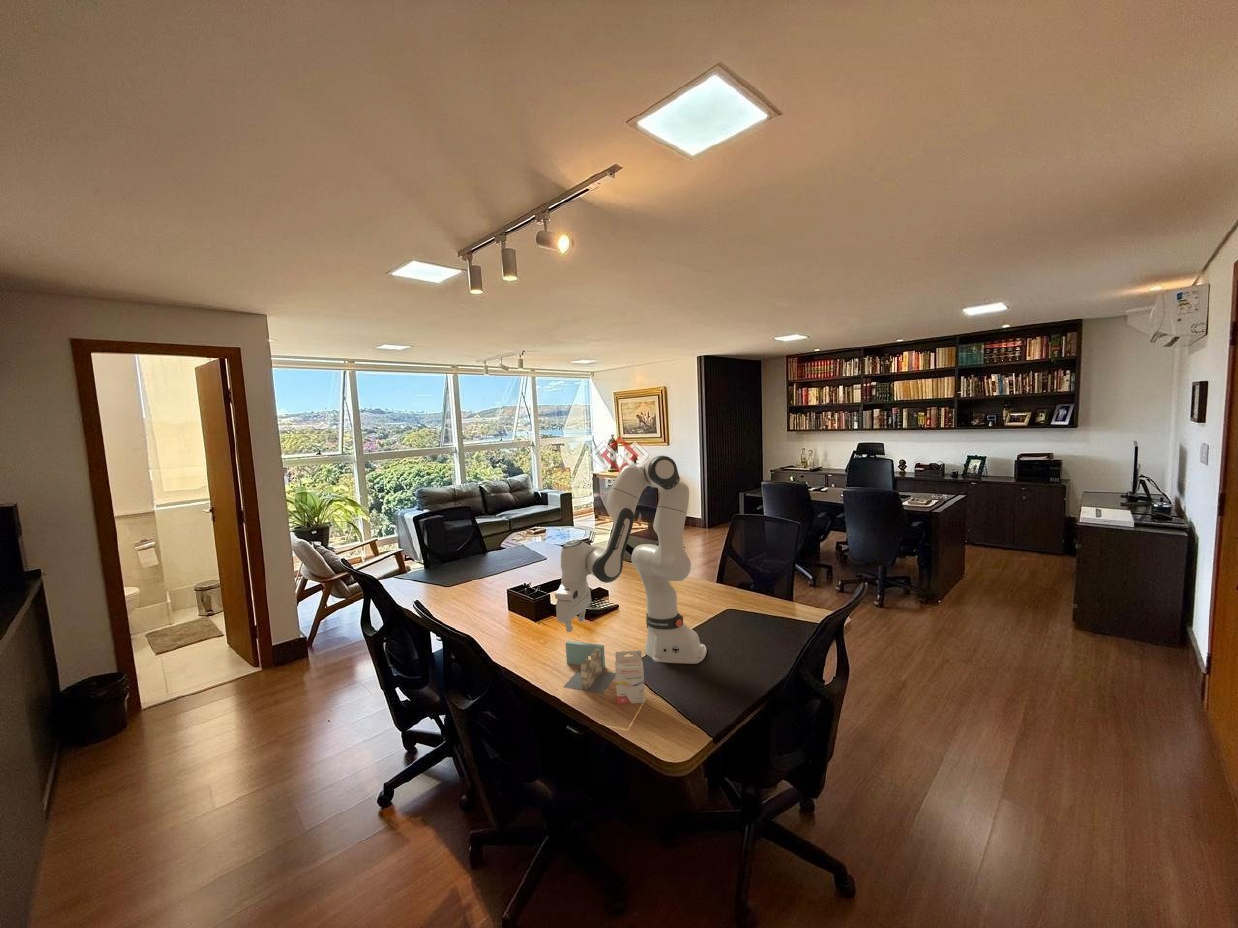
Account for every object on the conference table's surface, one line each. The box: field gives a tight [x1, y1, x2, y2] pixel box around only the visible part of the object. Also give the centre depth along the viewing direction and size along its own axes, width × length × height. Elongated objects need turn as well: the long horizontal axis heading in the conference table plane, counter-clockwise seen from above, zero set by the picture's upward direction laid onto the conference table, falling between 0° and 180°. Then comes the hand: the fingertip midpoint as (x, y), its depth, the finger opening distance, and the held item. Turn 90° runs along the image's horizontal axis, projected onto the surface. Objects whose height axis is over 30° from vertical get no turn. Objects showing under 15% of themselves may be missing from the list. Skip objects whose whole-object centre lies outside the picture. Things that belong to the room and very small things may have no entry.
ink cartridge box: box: [614, 650, 646, 705], centre depth 151 cm, size 9×5×15 cm, turn 92°
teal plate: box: [565, 640, 606, 670], centre depth 174 cm, size 14×2×8 cm, turn 69°
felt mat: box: [563, 667, 616, 695], centre depth 164 cm, size 14×13×1 cm
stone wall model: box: [580, 649, 603, 691], centre depth 163 cm, size 12×2×8 cm, turn 159°
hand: (575, 625), depth 174 cm, fingers open, 8 cm apart
